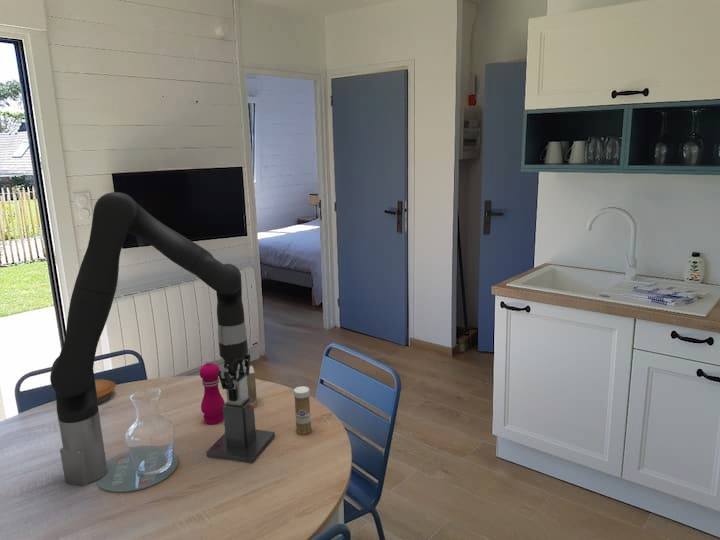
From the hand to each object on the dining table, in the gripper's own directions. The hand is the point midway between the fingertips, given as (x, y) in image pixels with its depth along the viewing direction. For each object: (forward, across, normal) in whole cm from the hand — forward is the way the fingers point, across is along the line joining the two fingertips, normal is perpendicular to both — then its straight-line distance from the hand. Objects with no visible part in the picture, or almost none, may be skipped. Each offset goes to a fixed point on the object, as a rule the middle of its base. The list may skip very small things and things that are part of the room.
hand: (237, 396), depth 150 cm
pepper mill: (+15, -12, -16) cm, 25 cm away
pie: (+16, -15, -65) cm, 69 cm away
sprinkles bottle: (+15, -12, +14) cm, 24 cm away
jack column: (+14, 0, 0) cm, 14 cm away
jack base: (+15, 0, 0) cm, 15 cm away
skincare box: (+15, -24, -10) cm, 30 cm away
